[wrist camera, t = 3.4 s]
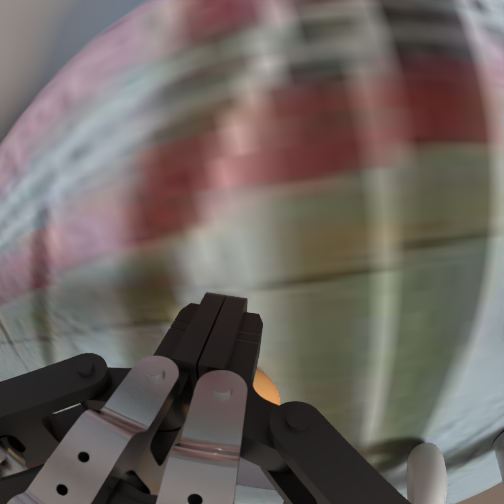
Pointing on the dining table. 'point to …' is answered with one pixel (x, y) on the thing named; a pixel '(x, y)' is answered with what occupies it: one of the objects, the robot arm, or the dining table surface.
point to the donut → (426, 475)
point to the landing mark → (252, 476)
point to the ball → (266, 387)
